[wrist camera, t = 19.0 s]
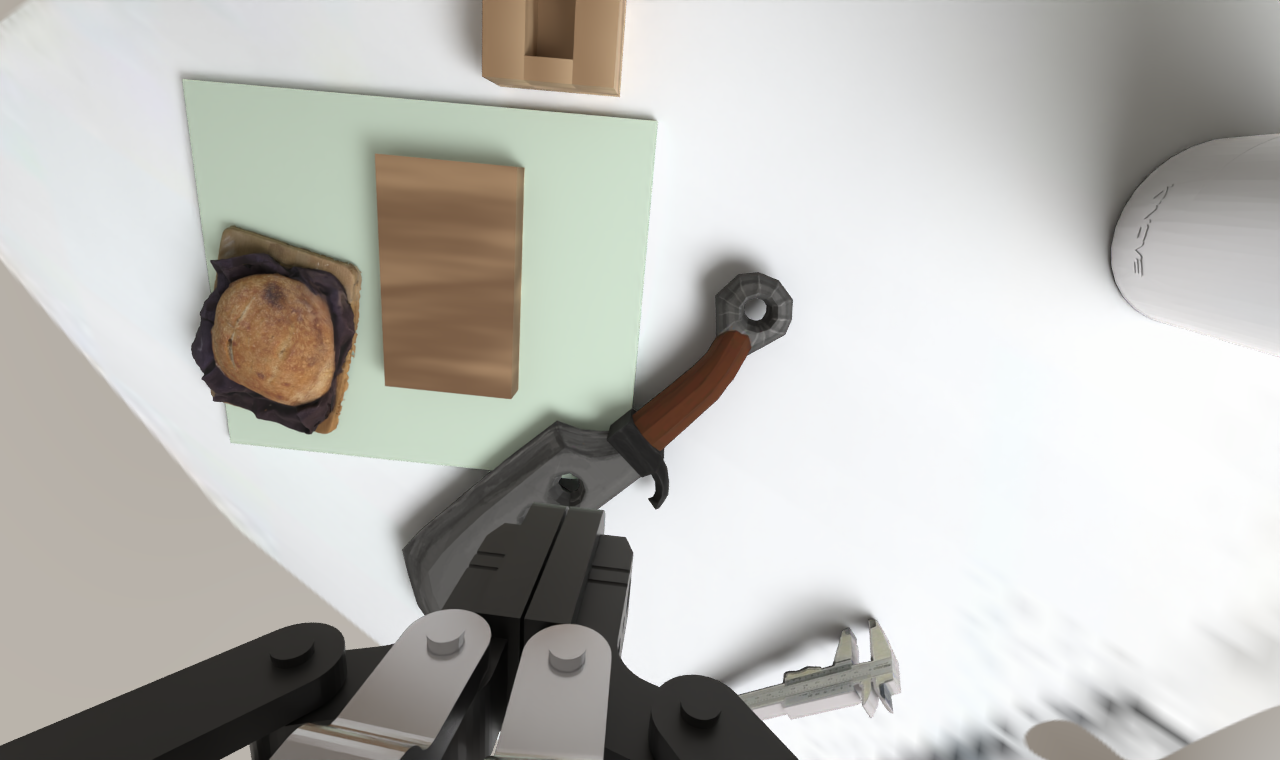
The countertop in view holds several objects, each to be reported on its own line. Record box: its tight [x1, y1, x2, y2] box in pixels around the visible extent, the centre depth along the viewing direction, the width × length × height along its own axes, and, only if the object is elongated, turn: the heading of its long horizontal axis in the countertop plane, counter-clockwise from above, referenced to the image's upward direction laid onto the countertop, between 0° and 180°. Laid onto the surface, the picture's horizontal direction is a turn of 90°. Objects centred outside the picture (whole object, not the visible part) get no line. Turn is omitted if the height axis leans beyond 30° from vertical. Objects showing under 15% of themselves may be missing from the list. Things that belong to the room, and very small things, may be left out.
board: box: [375, 154, 525, 399], centre depth 32 cm, size 2×7×12 cm
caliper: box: [738, 619, 901, 720], centre depth 38 cm, size 20×1×6 cm, turn 122°
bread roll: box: [191, 225, 362, 435], centre depth 33 cm, size 11×8×4 cm
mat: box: [182, 79, 658, 480], centre depth 34 cm, size 24×20×1 cm
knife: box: [402, 272, 793, 615], centre depth 35 cm, size 9×2×30 cm
